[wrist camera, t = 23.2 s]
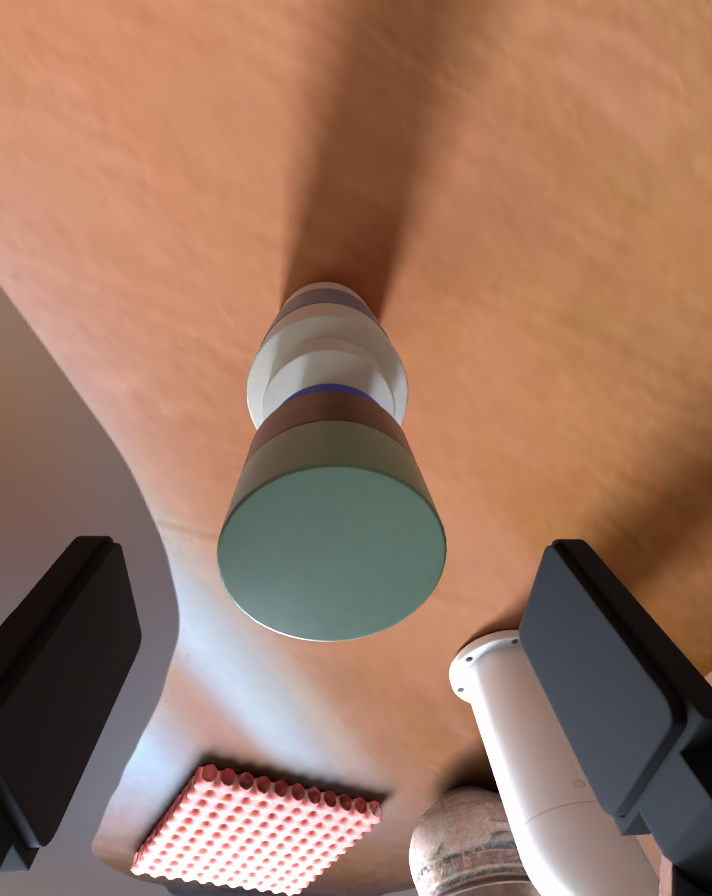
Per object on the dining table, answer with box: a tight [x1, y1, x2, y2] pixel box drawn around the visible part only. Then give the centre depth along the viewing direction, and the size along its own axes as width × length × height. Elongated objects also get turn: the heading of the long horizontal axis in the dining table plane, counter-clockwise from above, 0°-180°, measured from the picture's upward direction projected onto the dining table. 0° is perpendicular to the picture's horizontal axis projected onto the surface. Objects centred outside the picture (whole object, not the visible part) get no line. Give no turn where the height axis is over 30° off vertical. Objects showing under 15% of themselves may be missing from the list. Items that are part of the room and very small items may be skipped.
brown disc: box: [242, 391, 417, 471], centre depth 12 cm, size 5×5×2 cm
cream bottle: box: [247, 282, 408, 430], centre depth 22 cm, size 7×7×20 cm
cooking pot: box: [409, 785, 542, 896], centre depth 58 cm, size 25×19×12 cm
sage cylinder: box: [217, 420, 447, 642], centre depth 10 cm, size 5×5×2 cm
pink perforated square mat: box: [131, 764, 382, 895], centre depth 63 cm, size 28×28×2 cm
